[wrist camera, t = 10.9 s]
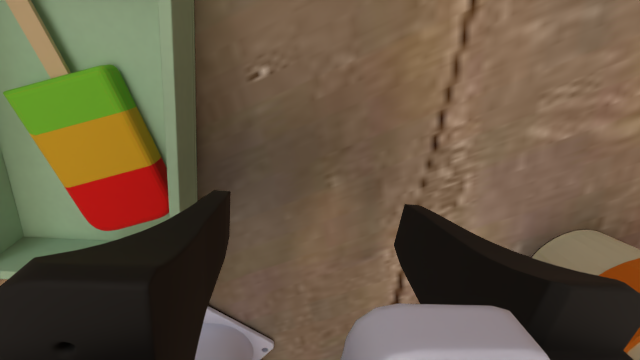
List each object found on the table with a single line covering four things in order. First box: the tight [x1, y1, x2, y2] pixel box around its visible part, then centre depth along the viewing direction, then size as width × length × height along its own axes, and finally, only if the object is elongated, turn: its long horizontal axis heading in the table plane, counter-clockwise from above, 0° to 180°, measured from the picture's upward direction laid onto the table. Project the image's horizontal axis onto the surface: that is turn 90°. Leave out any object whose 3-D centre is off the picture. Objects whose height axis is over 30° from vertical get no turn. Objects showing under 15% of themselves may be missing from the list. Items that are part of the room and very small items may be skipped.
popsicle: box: [3, 0, 169, 231], centre depth 18 cm, size 6×15×2 cm, turn 14°
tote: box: [0, 0, 197, 279], centre depth 17 cm, size 20×12×4 cm, turn 172°
